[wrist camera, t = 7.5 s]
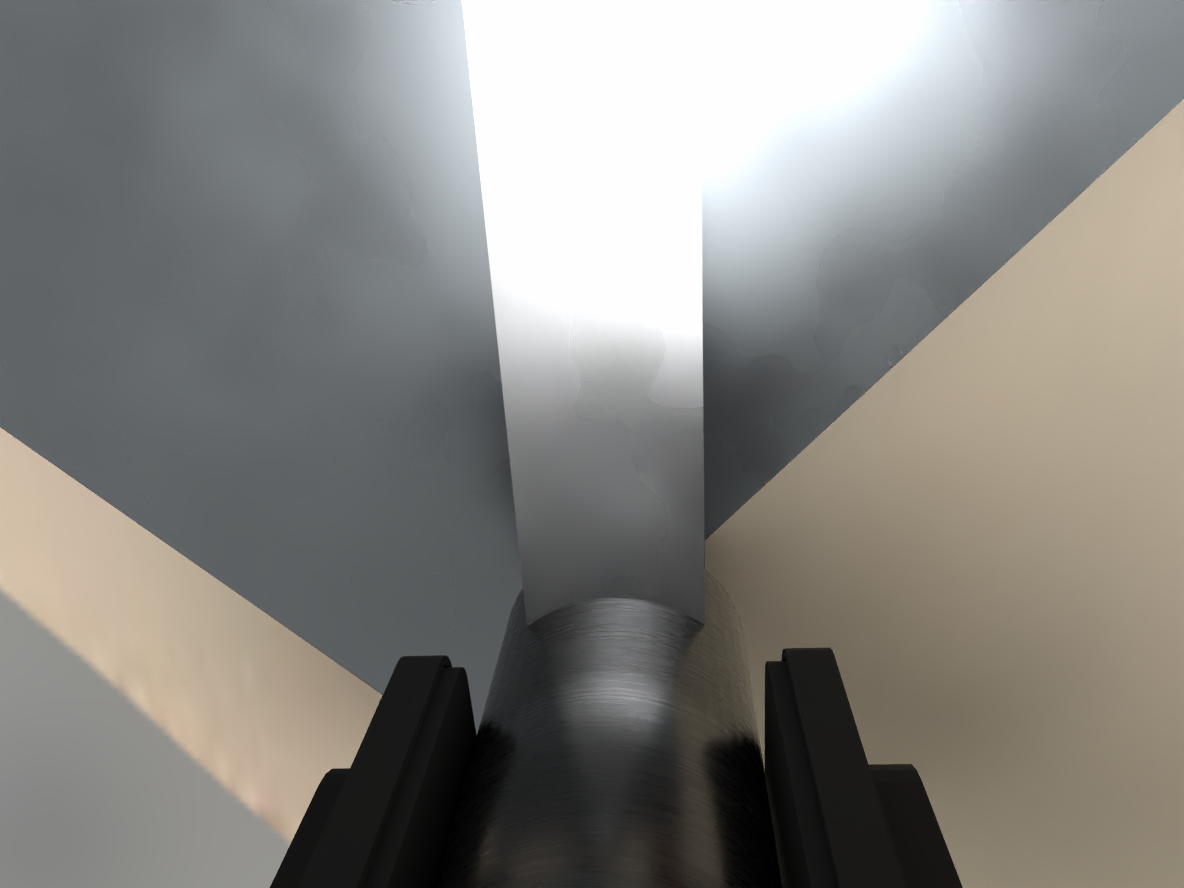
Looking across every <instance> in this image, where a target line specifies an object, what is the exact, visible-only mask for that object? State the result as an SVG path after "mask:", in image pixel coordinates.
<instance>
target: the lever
mask: <svg viewBox="0 0 1184 888" xmlns="http://www.w3.org/2000/svg"><path fill="white" fill-rule="evenodd" d="M462 5H463V14H464V24H465V33H466V43H467V53H468V62H469V72H470V82H471V91H472V101H473V111H474V120H475V130H476V139H477V149H478V159H479V168H480V178H481V188H482V197H483V207H484V216H485V226H486V236H487V245H488V255H489V265H490V274H491V284H492V294H493V303H494V313H495V322H496V332H497V342H498V351H499V361H500V371H501V380H502V390H503V399H504V409H505V419H506V428H507V438H508V448H509V457H510V467H511V477H512V486H513V496H514V505H515V515H516V525H517V534H518V544H519V554H520V563H521V573H522V583H523V588H522V590H521V591H520V593H519V594H518V596H517V598H516V600H515V603H514V605H513V607H512V610H511V613H510V617H509V620H508V624H507V628H506V631H505V635H504V639H503V642H502V646H501V649H500V653H499V657H498V660H497V664H496V667H495V671H494V675H493V678H492V682H491V686H490V689H489V693H488V696H487V700H486V704H485V707H484V711H483V715H482V718H481V722H480V725H479V729H478V733H477V736H476V740H475V744H474V747H473V751H472V754H471V758H470V762H469V765H468V769H467V773H466V776H465V780H464V783H463V787H462V791H461V794H460V798H459V802H458V805H457V809H456V812H455V816H454V820H453V823H452V827H451V831H450V834H449V838H448V841H447V845H446V849H445V852H444V856H443V860H442V863H441V867H440V870H439V874H438V878H437V881H436V885H435V888H782V882H781V875H780V869H779V863H778V856H777V850H776V843H775V837H774V831H773V824H772V818H771V811H770V805H769V798H768V792H767V786H766V779H765V773H764V766H763V760H762V753H761V747H760V741H759V734H758V728H757V721H756V715H755V709H754V702H753V696H752V689H751V683H750V676H749V670H748V664H747V657H746V651H745V644H744V638H743V631H742V627H741V623H740V618H739V616H738V613H737V611H736V608H735V606H734V604H733V602H732V601H731V599H730V597H729V595H728V594H727V592H726V591H725V590H724V589H723V587H722V586H721V585H720V584H719V582H718V581H717V580H716V579H715V578H714V577H713V576H711V575H710V574H709V573H708V572H707V571H706V570H705V542H704V434H703V325H702V216H701V107H700V0H462Z"/></svg>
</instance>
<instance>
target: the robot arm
mask: <svg viewBox="0 0 1184 888" xmlns="http://www.w3.org/2000/svg"><path fill="white" fill-rule="evenodd" d="M476 736H477V735H476V728H475V722H474V716H473V709H472V703H471V697H470V690H469V684H468V678H467V673H466V670H465V668H463V667H452V664H451V661H450V659H449V657H448V656H446V655H435V656H403V657H401V658H400V659H399V661H398V662H397V664H396V667H395V669H394V671H393V673H392V676H391V678H390V680H389V682H388V685H387V687H386V689H385V691H384V694H383V696H382V698H381V700H380V703H379V705H378V707H377V709H376V712H375V714H374V716H373V718H372V721H371V723H370V725H369V728H368V730H367V732H366V734H365V737H364V739H363V741H362V743H361V746H360V748H359V750H358V752H357V755H356V757H355V759H354V761H353V764H352V766H351V768H350V769H331V770H330V771H329V772H328V773H326V774H325V776H324V778H323V779H322V781H321V782H320V784H319V786H318V788H317V790H316V792H315V794H314V796H313V798H312V801H311V803H310V805H309V807H308V809H307V811H306V813H305V815H304V817H303V819H302V821H301V824H300V826H299V828H298V830H297V832H296V834H295V836H294V838H293V840H292V842H291V845H290V847H289V849H288V851H287V853H286V855H285V857H284V860H283V861H282V863H281V866H280V868H279V870H278V872H277V874H276V876H275V878H274V880H273V882H272V884H271V886H270V888H435V885H436V881H437V878H438V874H439V870H440V867H441V863H442V860H443V856H444V852H445V849H446V845H447V841H448V838H449V834H450V831H451V827H452V823H453V820H454V816H455V812H456V809H457V805H458V802H459V798H460V794H461V791H462V787H463V783H464V780H465V776H466V773H467V769H468V765H469V762H470V758H471V754H472V751H473V747H474V744H475V740H476ZM765 779H766V786H767V792H768V798H769V805H770V811H771V818H772V824H773V831H774V837H775V843H776V850H777V856H778V863H779V869H780V875H781V882H782V888H962V885H961V882H960V880H959V877H958V875H957V872H956V869H955V867H954V864H953V861H952V859H951V856H950V854H949V851H948V848H947V846H946V843H945V840H944V838H943V835H942V833H941V830H940V827H939V825H938V822H937V820H936V817H935V814H934V812H933V809H932V806H931V804H930V801H929V799H928V796H927V793H926V791H925V788H924V785H923V783H922V780H921V778H920V776H919V774H918V772H917V770H916V769H915V768H914V767H913V766H912V764H889V765H868V762H867V759H866V756H865V752H864V749H863V746H862V743H861V740H860V736H859V733H858V730H857V727H856V724H855V720H854V717H853V714H852V711H851V708H850V704H849V701H848V698H847V695H846V692H845V688H844V685H843V682H842V679H841V676H840V672H839V669H838V666H837V663H836V660H835V656H834V654H833V651H832V649H831V648H792V649H783V652H782V661H767V662H766V665H765Z"/></svg>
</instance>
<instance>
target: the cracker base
mask: <svg viewBox="0 0 1184 888" xmlns="http://www.w3.org/2000/svg"><path fill="white" fill-rule="evenodd" d="M1183 99H1184V0H700V107H701V216H702V325H703V434H704V541H705V540H706V539H707V538H708V537H709V536H710V535H711V534H712V533H713V532H714V531H715V530H717V529H718V528H719V527H720V526H721V525H722V524H723V523H724V522H725V521H726V520H727V519H728V518H730V517H731V516H732V515H733V514H734V513H735V512H736V511H737V510H738V509H739V508H740V507H741V506H743V505H744V504H745V503H746V502H747V501H748V500H749V499H750V498H751V497H752V496H753V495H754V494H756V493H757V492H758V491H759V490H760V489H761V488H762V487H763V486H764V485H765V484H766V483H768V482H769V481H770V480H771V479H772V478H773V477H774V476H775V475H776V474H777V473H778V472H779V471H781V470H782V469H783V468H784V467H785V466H786V465H787V464H788V463H789V462H790V461H791V460H792V459H794V458H795V457H796V456H797V455H798V454H799V453H800V452H801V451H802V450H803V449H804V448H805V447H807V446H808V445H809V444H810V443H811V442H812V441H813V440H814V439H815V438H816V437H817V436H818V435H820V434H821V433H822V432H823V431H824V430H825V429H826V428H827V427H828V426H829V425H830V424H831V423H833V422H834V421H835V420H836V419H837V418H838V417H839V416H840V415H841V414H842V413H843V412H844V411H846V410H847V409H848V408H849V407H850V406H851V405H852V404H853V403H854V402H855V401H856V400H858V399H859V398H860V397H861V396H862V395H863V394H864V393H865V392H866V391H867V390H868V389H869V388H871V387H872V386H873V385H874V384H875V383H876V382H877V381H878V380H879V379H880V378H881V377H882V376H884V375H885V374H886V373H887V372H888V371H889V370H890V369H891V368H892V367H893V366H894V365H895V364H897V363H898V362H899V361H900V360H901V359H902V358H903V357H904V356H905V355H906V354H907V353H908V352H910V351H911V350H912V349H913V348H914V347H915V346H916V345H917V344H918V343H919V342H920V341H921V340H923V339H924V338H925V337H926V336H927V335H928V334H929V333H930V332H931V331H932V330H933V329H934V328H936V327H937V326H938V325H939V324H940V323H941V322H942V321H943V320H944V319H945V318H946V317H948V316H949V315H950V314H951V313H952V312H953V311H954V310H955V309H956V308H957V307H958V306H959V305H961V304H962V303H963V302H964V301H965V300H966V299H967V298H968V297H969V296H970V295H971V294H972V293H974V292H975V291H976V290H977V289H978V288H979V287H980V286H981V285H982V284H983V283H984V282H985V281H987V280H988V279H989V278H990V277H991V276H992V275H993V274H994V273H995V272H996V271H997V270H998V269H1000V268H1001V267H1002V266H1003V265H1004V264H1005V263H1006V262H1007V261H1008V260H1009V259H1010V258H1011V257H1013V256H1014V255H1015V254H1016V253H1017V252H1018V251H1019V250H1020V249H1021V248H1022V247H1023V246H1024V245H1026V244H1027V243H1028V242H1029V241H1030V240H1031V239H1032V238H1033V237H1034V236H1035V235H1036V234H1038V233H1039V232H1040V231H1041V230H1042V229H1043V228H1044V227H1045V226H1046V225H1047V224H1048V223H1049V222H1051V221H1052V220H1053V219H1054V218H1055V217H1056V216H1057V215H1058V214H1059V213H1060V212H1061V211H1062V210H1064V209H1065V208H1066V207H1067V206H1068V205H1069V204H1070V203H1071V202H1072V201H1073V200H1074V199H1075V198H1077V197H1078V196H1079V195H1080V194H1081V193H1082V192H1083V191H1084V190H1085V189H1086V188H1087V187H1088V186H1090V185H1091V184H1092V183H1093V182H1094V181H1095V180H1096V179H1097V178H1098V177H1099V176H1100V175H1101V174H1103V173H1104V172H1105V171H1106V170H1107V169H1108V168H1109V167H1110V166H1111V165H1112V164H1113V163H1114V162H1116V161H1117V160H1118V159H1119V158H1120V157H1121V156H1122V155H1123V154H1124V153H1125V152H1126V151H1128V150H1129V149H1130V148H1131V147H1132V146H1133V145H1134V144H1135V143H1136V142H1137V141H1138V140H1139V139H1141V138H1142V137H1143V136H1144V135H1145V134H1146V133H1147V132H1148V131H1149V130H1150V129H1151V128H1152V127H1154V126H1155V125H1156V124H1157V123H1158V122H1159V121H1160V120H1161V119H1162V118H1163V117H1164V116H1165V115H1167V114H1168V113H1169V112H1170V111H1171V110H1172V109H1173V108H1174V107H1175V106H1176V105H1177V104H1178V103H1180V102H1181V101H1182V100H1183ZM0 427H1V428H2V429H4V430H5V431H7V432H8V433H9V434H11V435H12V436H14V437H15V438H17V439H18V440H19V441H21V442H22V443H24V444H25V445H27V446H28V447H29V448H31V449H32V450H34V451H35V452H37V453H38V454H39V455H41V456H42V457H44V458H45V459H47V460H48V461H49V462H51V463H52V464H54V465H55V466H57V467H58V468H59V469H61V470H62V471H64V472H65V473H67V474H68V475H69V476H71V477H72V478H74V479H75V480H77V481H78V482H79V483H81V484H82V485H84V486H85V487H87V488H88V489H89V490H91V491H92V492H94V493H95V494H97V495H98V496H99V497H101V498H102V499H104V500H105V501H107V502H108V503H109V504H111V505H112V506H114V507H115V508H117V509H118V510H119V511H121V512H122V513H124V514H125V515H127V516H128V517H129V518H131V519H132V520H134V521H135V522H137V523H138V524H139V525H141V526H142V527H144V528H145V529H147V530H148V531H149V532H151V533H152V534H154V535H155V536H157V537H158V538H159V539H161V540H162V541H164V542H165V543H167V544H168V545H169V546H171V547H172V548H174V549H175V550H177V551H178V552H179V553H181V554H182V555H184V556H185V557H187V558H188V559H189V560H191V561H192V562H194V563H195V564H197V565H198V566H199V567H201V568H202V569H204V570H205V571H207V572H208V573H209V574H211V575H212V576H214V577H215V578H217V579H218V580H219V581H221V582H222V583H224V584H225V585H227V586H228V587H229V588H231V589H232V590H234V591H235V592H237V593H238V594H239V595H241V596H242V597H244V598H245V599H247V600H248V601H249V602H251V603H252V604H254V605H255V606H257V607H258V608H259V609H261V610H262V611H264V612H265V613H267V614H268V615H269V616H271V617H272V618H274V619H275V620H277V621H278V622H279V623H281V624H282V625H284V626H285V627H287V628H288V629H289V630H291V631H292V632H294V633H295V634H297V635H298V636H299V637H301V638H302V639H304V640H305V641H307V642H308V643H309V644H311V645H312V646H314V647H315V648H317V649H318V650H319V651H321V652H322V653H324V654H325V655H327V656H328V657H329V658H331V659H332V660H334V661H335V662H337V663H338V664H339V665H341V666H342V667H344V668H345V669H347V670H348V671H349V672H351V673H352V674H354V675H355V676H357V677H358V678H359V679H361V680H362V681H364V682H365V683H367V684H368V685H369V686H371V687H372V688H374V689H375V690H377V691H378V692H379V693H381V694H382V695H383V694H384V691H385V689H386V687H387V685H388V682H389V680H390V678H391V676H392V673H393V671H394V669H395V667H396V664H397V662H398V661H399V659H400V658H401V657H403V656H435V655H446V656H448V657H449V659H450V661H451V664H452V667H463V668H465V670H466V673H467V678H468V684H469V690H470V697H471V703H472V709H473V716H474V722H475V728H476V735H477V733H478V729H479V725H480V722H481V718H482V715H483V711H484V707H485V704H486V700H487V696H488V693H489V689H490V686H491V682H492V678H493V675H494V671H495V667H496V664H497V660H498V657H499V653H500V649H501V646H502V642H503V639H504V635H505V631H506V628H507V624H508V620H509V617H510V613H511V610H512V607H513V605H514V603H515V600H516V598H517V596H518V594H519V593H520V591H521V590H522V588H523V583H522V573H521V563H520V554H519V544H518V534H517V525H516V515H515V505H514V496H513V486H512V477H511V467H510V457H509V448H508V438H507V428H506V419H505V409H504V399H503V390H502V380H501V371H500V361H499V351H498V342H497V332H496V322H495V313H494V303H493V294H492V284H491V274H490V265H489V255H488V245H487V236H486V226H485V216H484V207H483V197H482V188H481V178H480V168H479V159H478V149H477V139H476V130H475V120H474V111H473V101H472V91H471V82H470V72H469V62H468V53H467V43H466V33H465V24H464V14H463V5H462V0H0Z"/></svg>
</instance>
